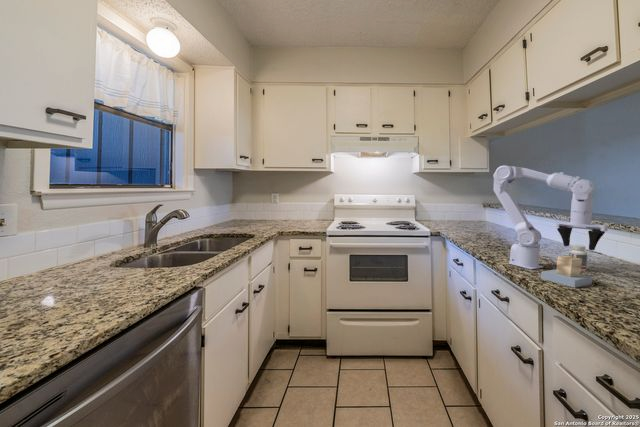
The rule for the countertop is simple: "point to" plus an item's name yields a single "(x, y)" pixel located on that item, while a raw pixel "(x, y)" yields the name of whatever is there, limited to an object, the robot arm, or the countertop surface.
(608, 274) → the countertop surface
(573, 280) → the slate-blue block
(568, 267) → the maple cube
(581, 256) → the pill bottle
